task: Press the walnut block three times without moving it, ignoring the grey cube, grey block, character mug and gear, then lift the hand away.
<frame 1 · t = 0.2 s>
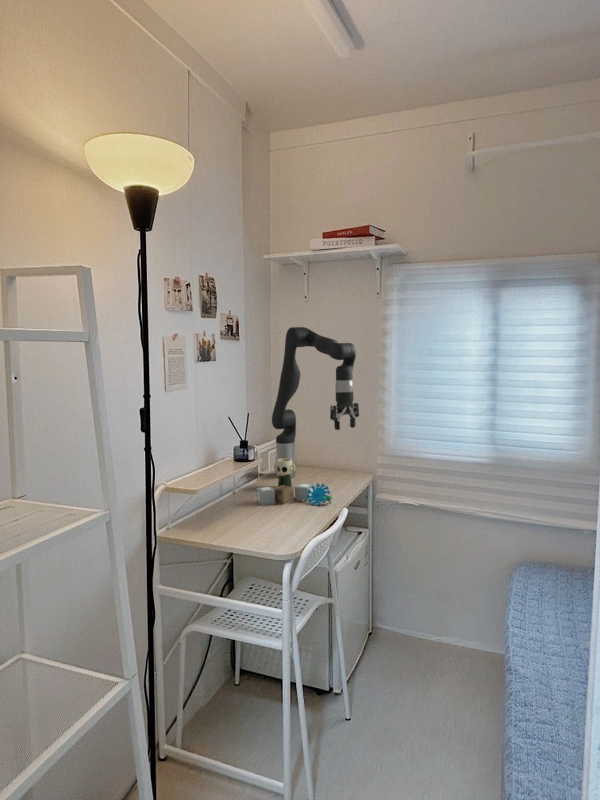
hand: (345, 428, 227), 29 cm above the table, tool pointing down, fingers open, 8 cm apart
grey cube: (304, 499, 226), on the table
walnut block: (283, 501, 223), on the table
gear: (319, 504, 219), on the table
character mug: (285, 488, 244), on the table
grey block front: (265, 502, 222), on the table
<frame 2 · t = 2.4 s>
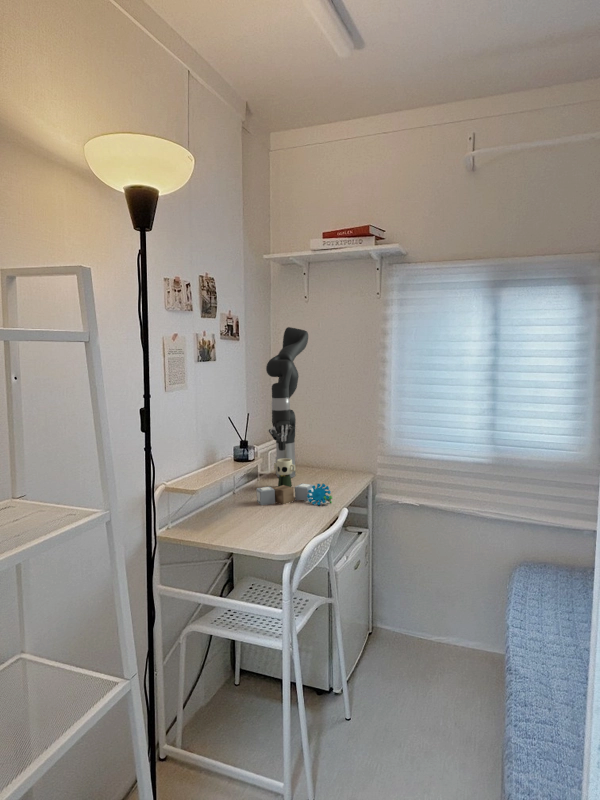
hand: (282, 450, 220), 22 cm above the table, tool pointing down, fingers closed
nothing on the table moved.
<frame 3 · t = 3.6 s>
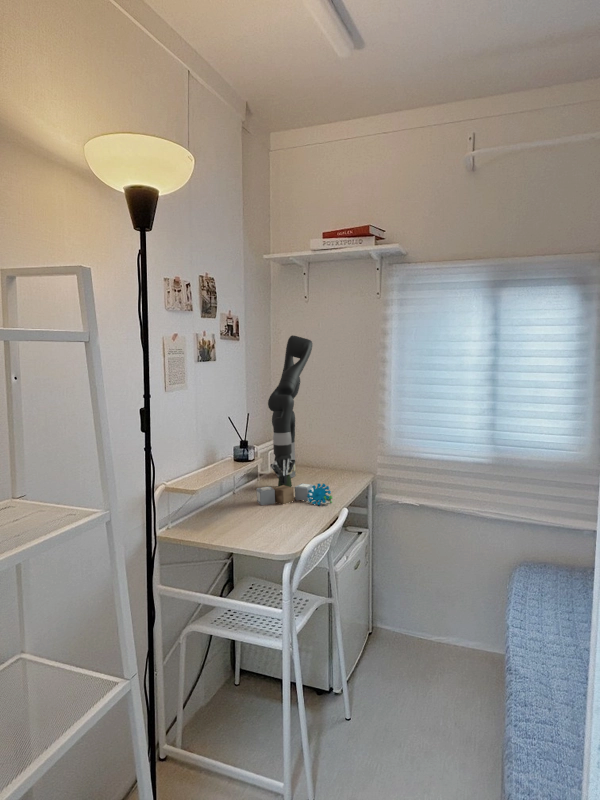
hand: (283, 483, 222), 8 cm above the table, tool pointing down, fingers closed
nothing on the table moved.
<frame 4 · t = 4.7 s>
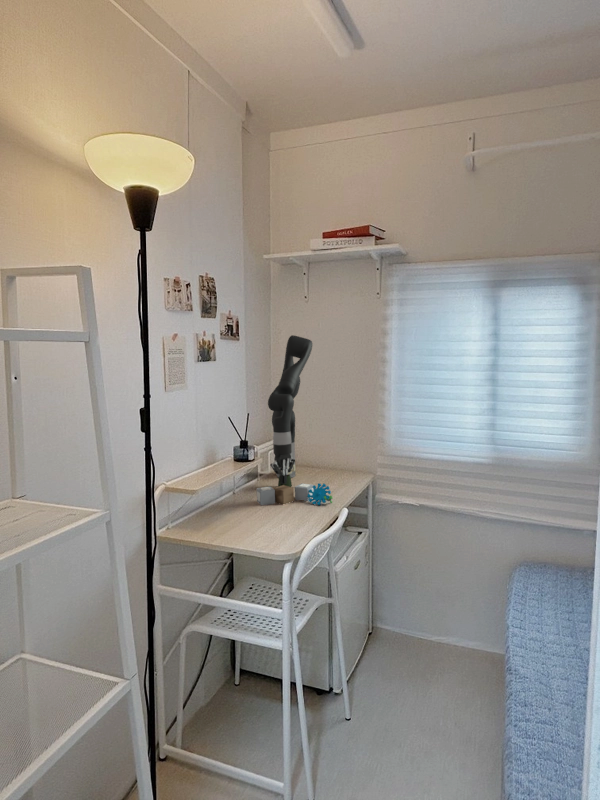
hand: (283, 483, 222), 8 cm above the table, tool pointing down, fingers closed
nothing on the table moved.
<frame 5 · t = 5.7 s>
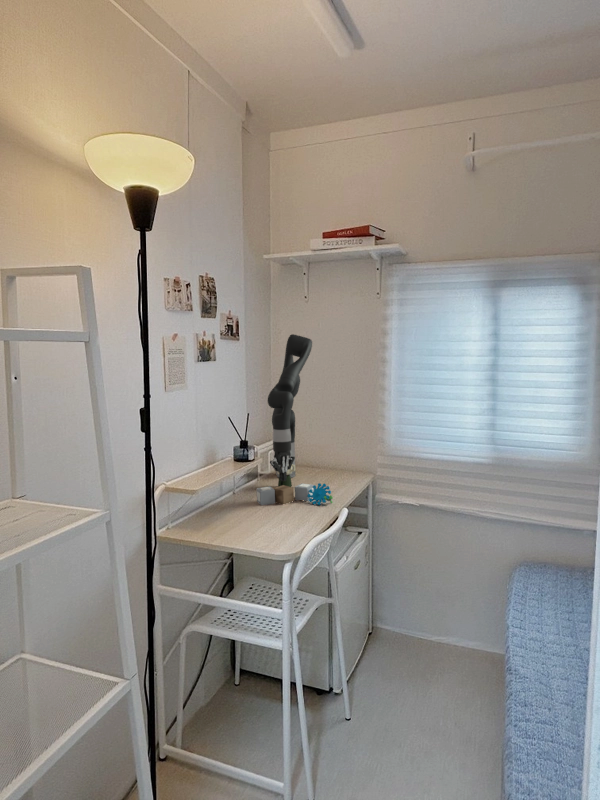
hand: (283, 480, 222), 9 cm above the table, tool pointing down, fingers closed
nothing on the table moved.
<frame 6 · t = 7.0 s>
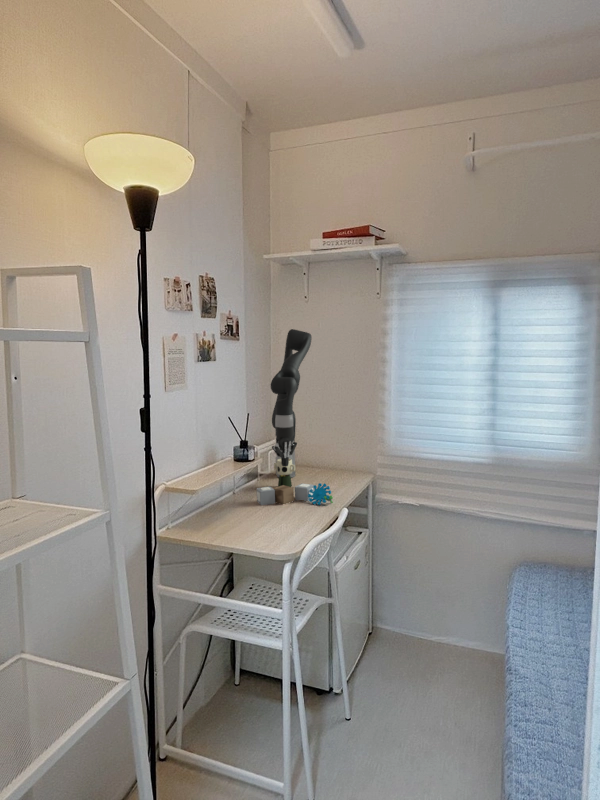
hand: (285, 465, 224), 15 cm above the table, tool pointing down, fingers closed
nothing on the table moved.
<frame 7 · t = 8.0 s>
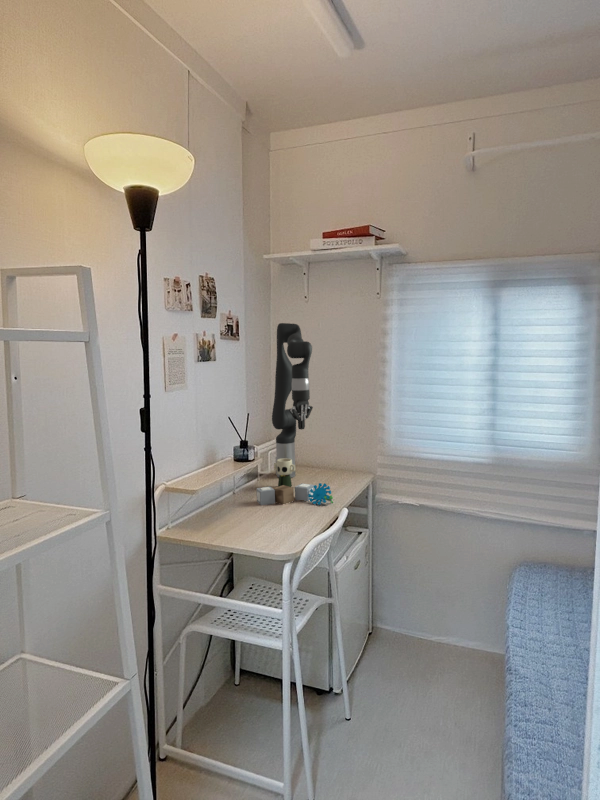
hand: (301, 429, 228), 29 cm above the table, tool pointing down, fingers closed
nothing on the table moved.
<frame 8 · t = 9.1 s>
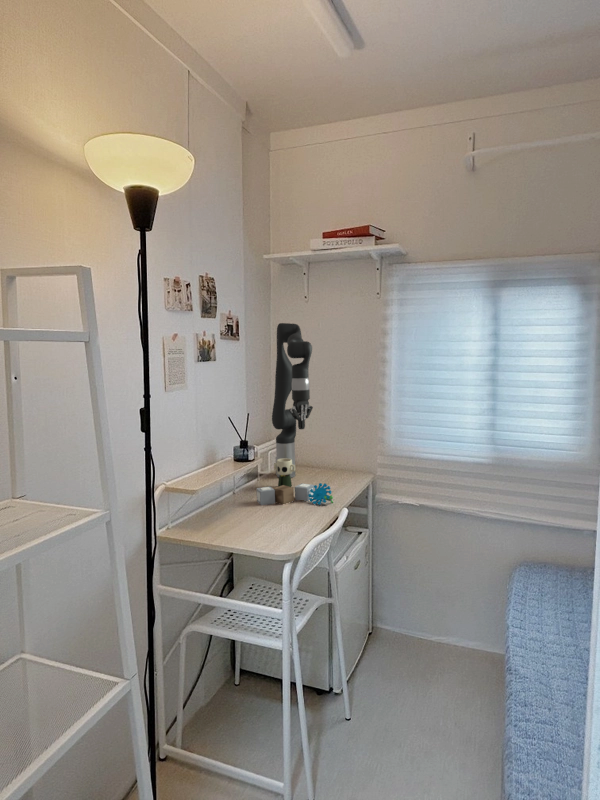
hand: (301, 429, 228), 29 cm above the table, tool pointing down, fingers closed
nothing on the table moved.
at the end: walnut block moved 0.2 cm from its start; walnut block tilted 0°; grey block front moved 0.2 cm from its start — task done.
